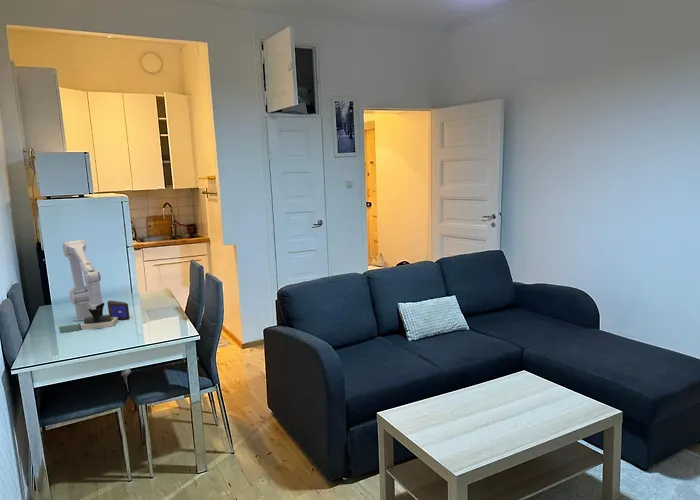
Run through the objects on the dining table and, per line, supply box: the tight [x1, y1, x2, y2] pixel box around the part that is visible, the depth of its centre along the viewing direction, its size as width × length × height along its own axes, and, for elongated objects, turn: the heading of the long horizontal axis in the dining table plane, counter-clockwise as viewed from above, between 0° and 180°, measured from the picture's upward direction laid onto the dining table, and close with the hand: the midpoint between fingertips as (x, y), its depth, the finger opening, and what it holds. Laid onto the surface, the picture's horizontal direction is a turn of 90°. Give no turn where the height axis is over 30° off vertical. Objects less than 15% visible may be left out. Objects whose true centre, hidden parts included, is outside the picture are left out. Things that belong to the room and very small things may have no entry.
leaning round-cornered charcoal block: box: [107, 300, 131, 321], centre depth 264 cm, size 16×5×9 cm, turn 60°
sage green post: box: [58, 323, 82, 334], centre depth 246 cm, size 10×1×3 cm, turn 111°
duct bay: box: [81, 317, 119, 331], centre depth 253 cm, size 9×15×2 cm, turn 101°
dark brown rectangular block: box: [83, 314, 111, 324], centre depth 253 cm, size 4×12×5 cm, turn 107°
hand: (98, 319), depth 253 cm, fingers open, 7 cm apart
